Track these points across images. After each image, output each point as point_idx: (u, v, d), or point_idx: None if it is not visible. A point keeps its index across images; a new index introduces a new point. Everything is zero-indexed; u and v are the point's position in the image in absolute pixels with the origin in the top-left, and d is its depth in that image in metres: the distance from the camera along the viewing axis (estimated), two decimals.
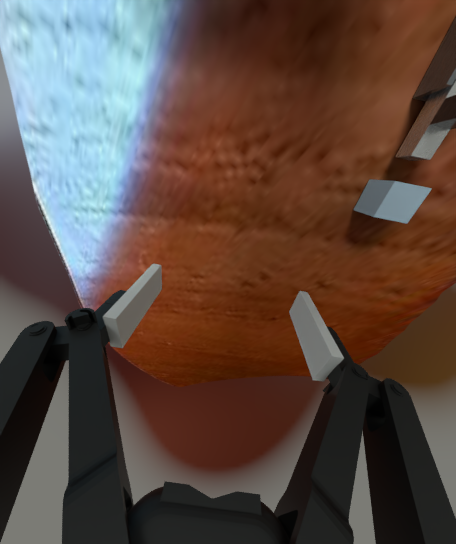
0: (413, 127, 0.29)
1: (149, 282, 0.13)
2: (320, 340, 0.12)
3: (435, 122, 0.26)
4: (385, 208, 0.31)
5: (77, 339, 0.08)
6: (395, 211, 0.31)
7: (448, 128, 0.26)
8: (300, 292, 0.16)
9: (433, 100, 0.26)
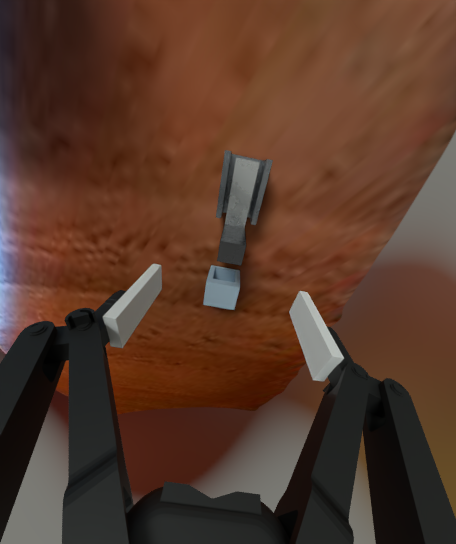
0: None
1: (149, 282, 0.13)
2: (320, 340, 0.12)
3: None
4: (209, 299, 0.35)
5: (77, 339, 0.08)
6: (219, 301, 0.35)
7: None
8: (300, 292, 0.16)
9: None
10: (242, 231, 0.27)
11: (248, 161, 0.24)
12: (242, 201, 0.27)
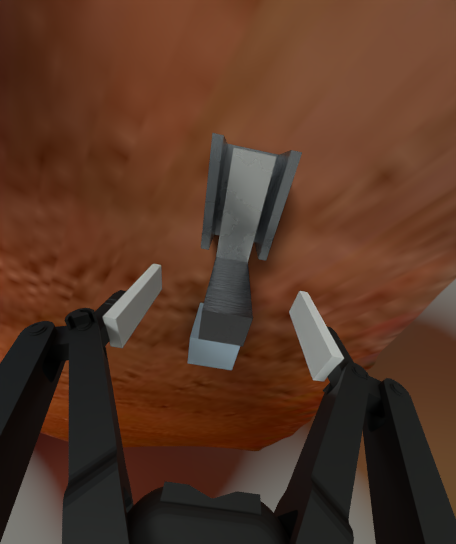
0: None
1: (149, 282, 0.13)
2: (320, 340, 0.12)
3: None
4: (196, 357, 0.24)
5: (77, 339, 0.08)
6: (210, 360, 0.24)
7: None
8: (300, 292, 0.16)
9: None
10: (244, 272, 0.16)
11: (255, 154, 0.13)
12: (243, 223, 0.16)
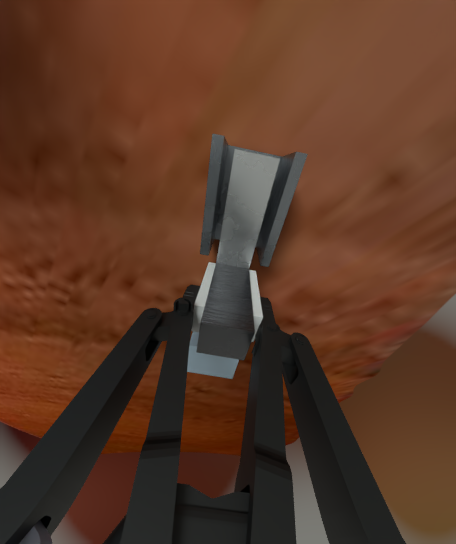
0: None
1: None
2: None
3: None
4: (195, 365, 0.23)
5: (176, 321, 0.11)
6: (210, 368, 0.23)
7: None
8: (249, 270, 0.17)
9: None
10: (245, 280, 0.15)
11: (258, 156, 0.13)
12: (245, 228, 0.15)
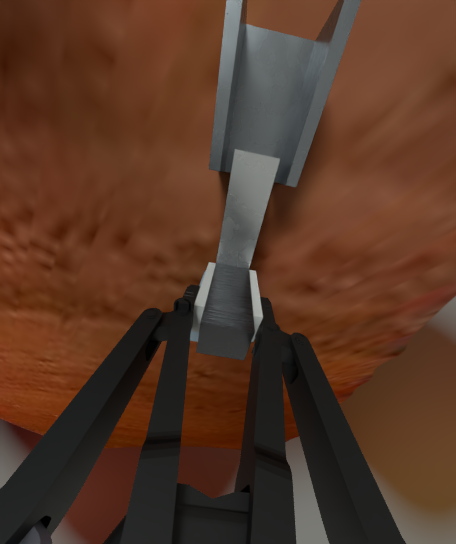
0: None
1: None
2: None
3: None
4: None
5: (177, 321, 0.11)
6: None
7: None
8: (249, 270, 0.17)
9: None
10: (245, 280, 0.15)
11: (258, 156, 0.13)
12: (245, 228, 0.15)
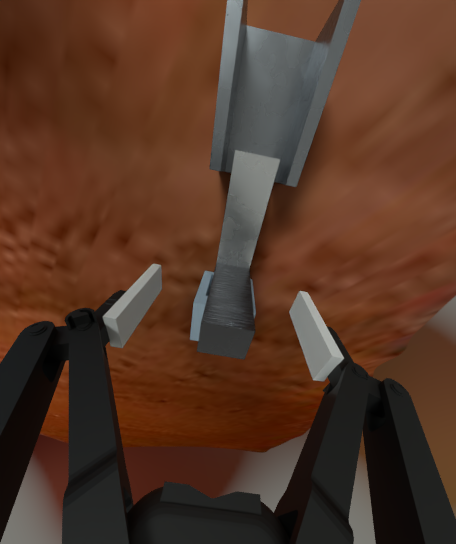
0: None
1: (149, 282, 0.13)
2: (320, 340, 0.12)
3: None
4: None
5: (77, 339, 0.08)
6: None
7: None
8: (300, 292, 0.16)
9: None
10: (246, 280, 0.15)
11: (258, 157, 0.13)
12: (245, 228, 0.15)
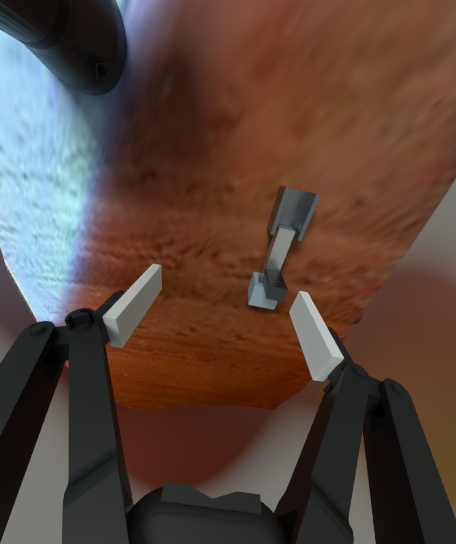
0: (261, 271, 0.44)
1: (149, 282, 0.13)
2: (320, 340, 0.12)
3: (262, 279, 0.41)
4: (255, 300, 0.42)
5: (77, 339, 0.08)
6: (262, 302, 0.42)
7: None
8: (300, 292, 0.16)
9: (265, 262, 0.41)
10: (280, 275, 0.38)
11: (287, 230, 0.35)
12: (280, 254, 0.38)
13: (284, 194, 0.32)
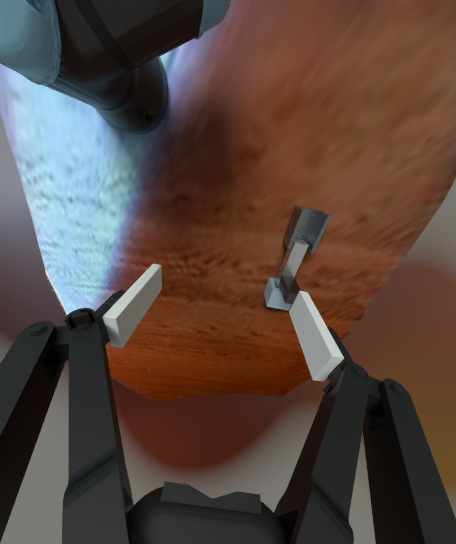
0: (276, 277, 0.50)
1: (149, 282, 0.13)
2: (320, 340, 0.12)
3: (279, 285, 0.47)
4: (272, 302, 0.49)
5: (77, 339, 0.08)
6: (278, 304, 0.49)
7: None
8: (300, 292, 0.16)
9: (280, 270, 0.48)
10: (295, 281, 0.44)
11: (302, 244, 0.42)
12: (295, 263, 0.44)
13: (300, 216, 0.38)
